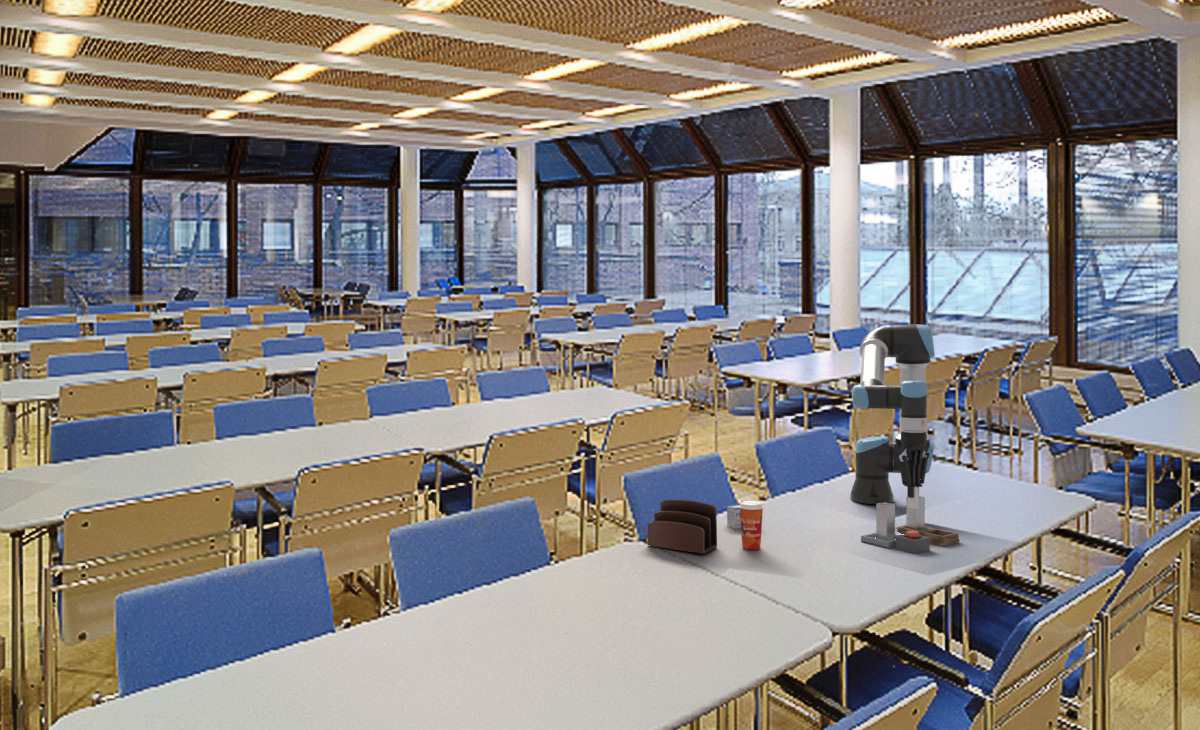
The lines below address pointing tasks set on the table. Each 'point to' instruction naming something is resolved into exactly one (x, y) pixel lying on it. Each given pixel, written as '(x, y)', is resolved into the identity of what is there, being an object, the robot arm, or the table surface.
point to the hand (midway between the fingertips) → (913, 507)
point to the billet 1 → (885, 521)
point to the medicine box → (733, 516)
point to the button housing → (913, 544)
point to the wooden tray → (934, 535)
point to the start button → (912, 534)
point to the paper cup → (751, 523)
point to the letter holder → (684, 526)
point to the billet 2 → (916, 515)
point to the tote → (878, 541)
